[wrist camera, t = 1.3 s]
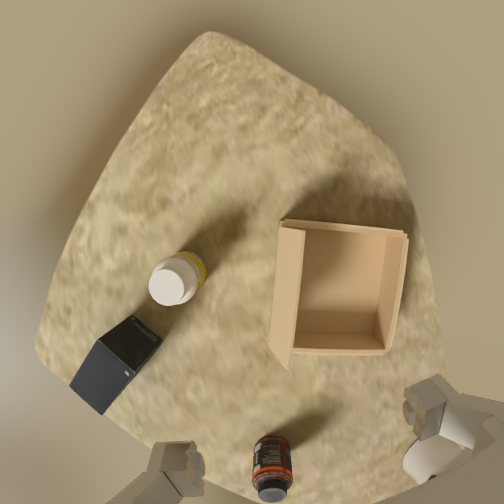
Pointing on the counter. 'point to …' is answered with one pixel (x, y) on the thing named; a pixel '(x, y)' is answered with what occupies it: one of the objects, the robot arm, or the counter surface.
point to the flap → (286, 293)
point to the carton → (348, 288)
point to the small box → (114, 363)
